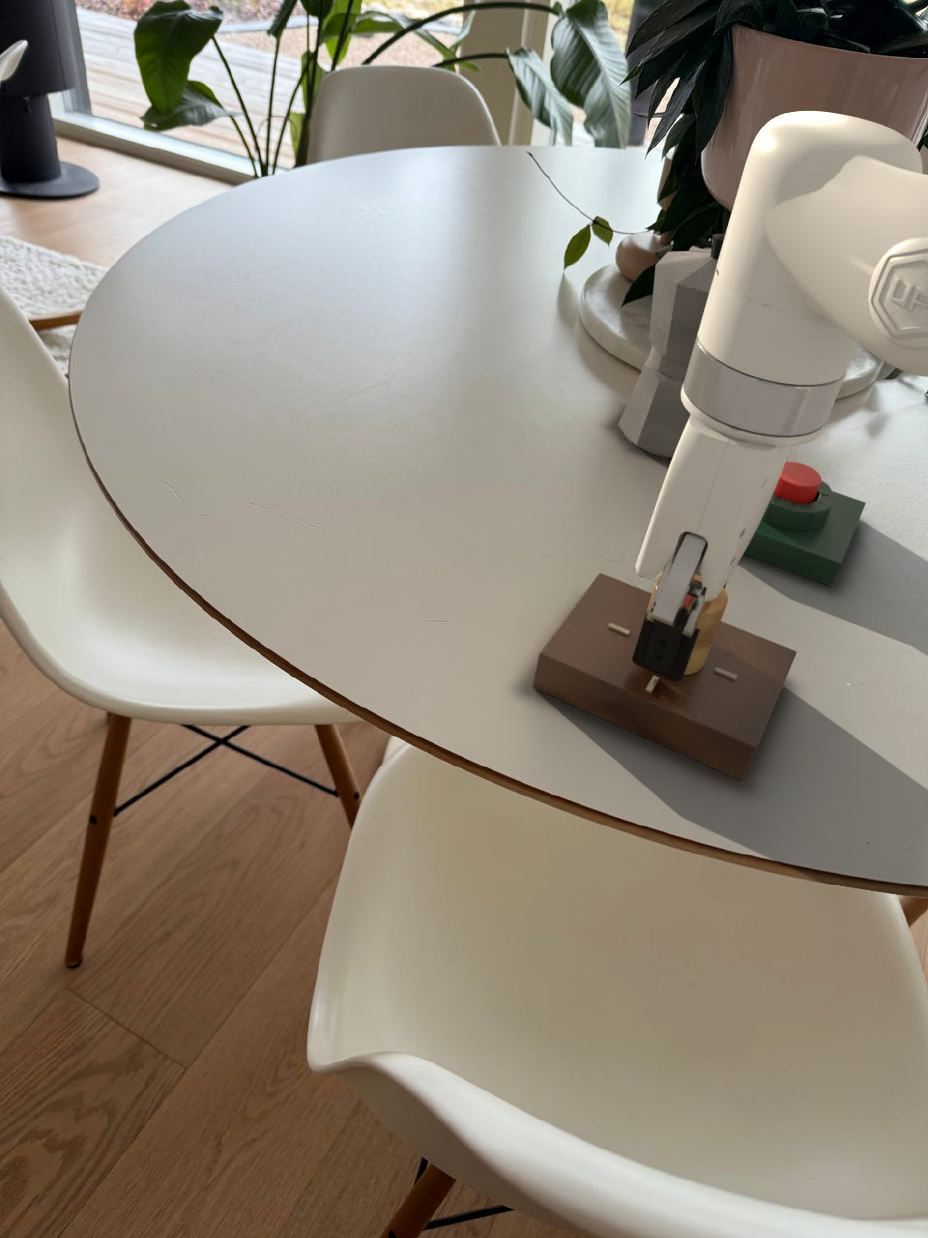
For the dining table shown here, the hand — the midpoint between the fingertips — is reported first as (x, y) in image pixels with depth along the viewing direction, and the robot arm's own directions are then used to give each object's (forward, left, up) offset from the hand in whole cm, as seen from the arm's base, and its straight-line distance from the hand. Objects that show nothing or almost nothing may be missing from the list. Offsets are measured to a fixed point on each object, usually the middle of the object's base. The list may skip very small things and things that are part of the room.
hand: (672, 642), depth 63 cm
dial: (0, 0, -1) cm, 1 cm away
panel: (0, 0, -4) cm, 4 cm away
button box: (-2, -23, -4) cm, 23 cm away
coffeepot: (+10, -31, -4) cm, 33 cm away
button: (-2, -23, 0) cm, 23 cm away
